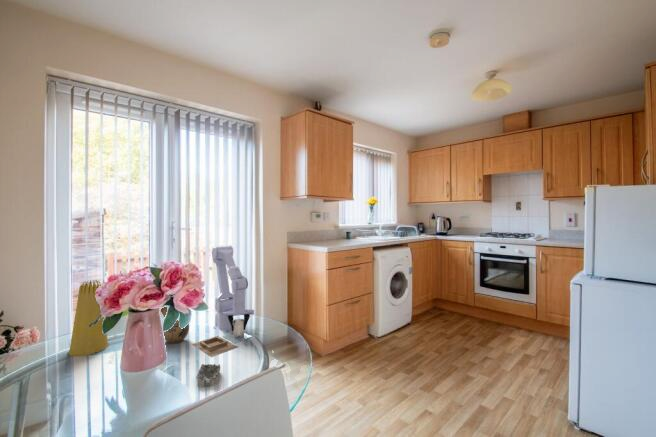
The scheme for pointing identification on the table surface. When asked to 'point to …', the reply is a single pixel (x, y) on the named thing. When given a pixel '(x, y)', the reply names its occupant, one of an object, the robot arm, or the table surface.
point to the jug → (238, 327)
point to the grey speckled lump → (208, 375)
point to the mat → (234, 338)
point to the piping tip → (87, 323)
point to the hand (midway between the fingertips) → (238, 329)
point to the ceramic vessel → (175, 331)
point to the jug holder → (214, 346)
